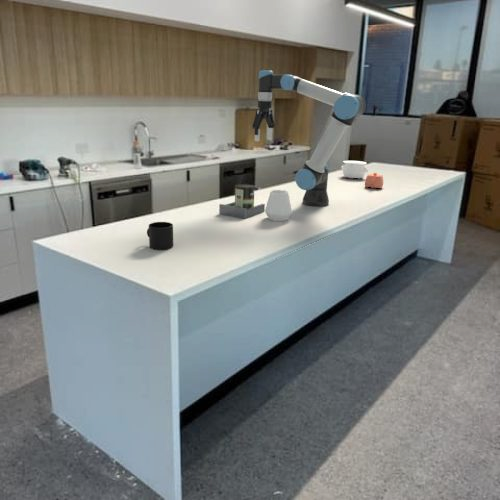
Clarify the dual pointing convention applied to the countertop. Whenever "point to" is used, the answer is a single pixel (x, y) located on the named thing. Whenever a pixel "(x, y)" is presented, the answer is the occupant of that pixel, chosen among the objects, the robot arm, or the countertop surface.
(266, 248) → the countertop surface
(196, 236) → the countertop surface
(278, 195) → the cup
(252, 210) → the grey u-shaped frame
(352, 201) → the countertop surface
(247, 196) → the coffee can
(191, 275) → the countertop surface
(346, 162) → the pot
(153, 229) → the mug
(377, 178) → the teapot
